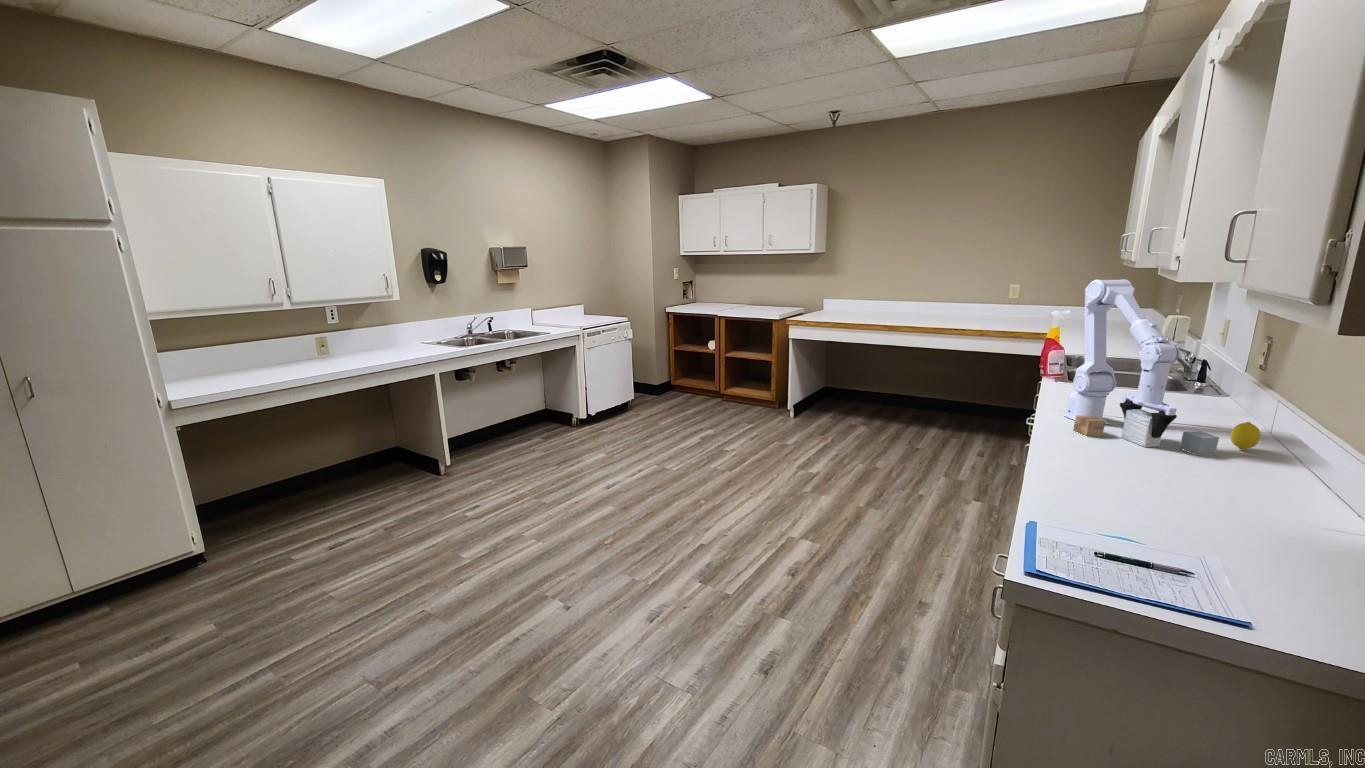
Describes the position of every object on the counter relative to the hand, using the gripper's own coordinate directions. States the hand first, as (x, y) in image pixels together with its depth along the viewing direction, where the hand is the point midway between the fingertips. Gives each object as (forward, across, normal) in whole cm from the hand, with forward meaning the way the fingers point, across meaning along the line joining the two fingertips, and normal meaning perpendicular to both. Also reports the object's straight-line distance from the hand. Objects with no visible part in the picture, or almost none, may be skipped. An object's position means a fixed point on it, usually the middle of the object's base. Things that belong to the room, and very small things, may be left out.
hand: (1142, 432), depth 154 cm
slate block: (+3, +8, +9) cm, 12 cm away
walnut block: (+3, -8, -9) cm, 13 cm away
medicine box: (+3, 0, 0) cm, 3 cm away
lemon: (+3, +8, +22) cm, 24 cm away
